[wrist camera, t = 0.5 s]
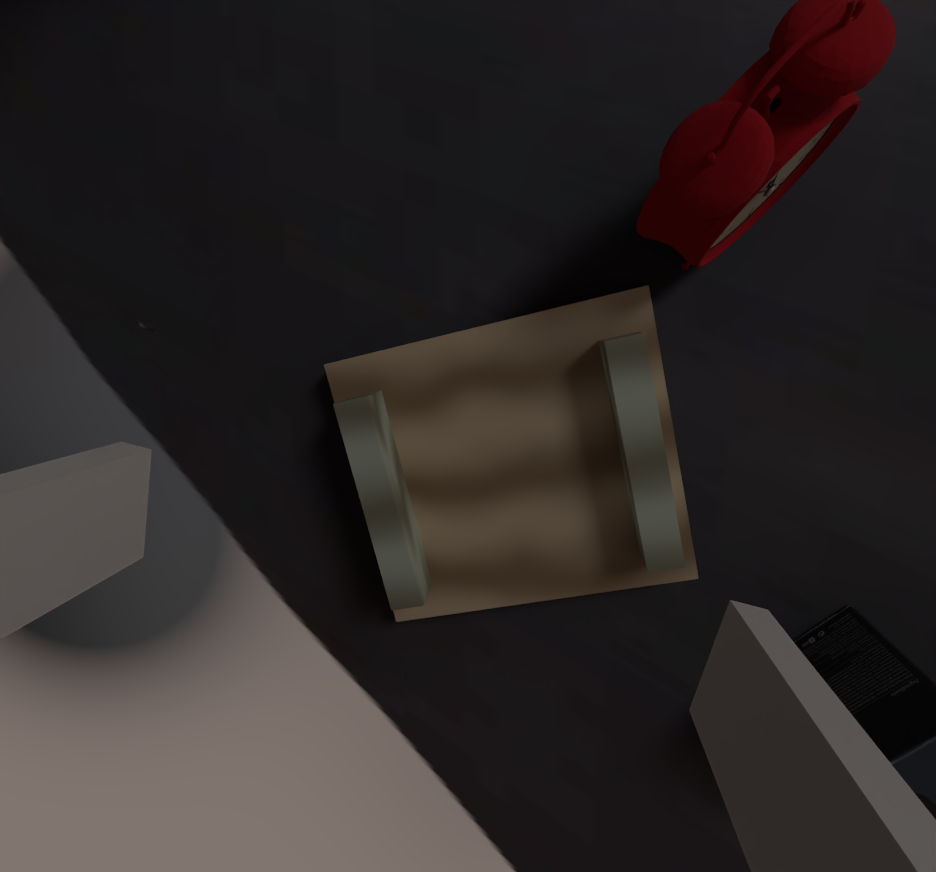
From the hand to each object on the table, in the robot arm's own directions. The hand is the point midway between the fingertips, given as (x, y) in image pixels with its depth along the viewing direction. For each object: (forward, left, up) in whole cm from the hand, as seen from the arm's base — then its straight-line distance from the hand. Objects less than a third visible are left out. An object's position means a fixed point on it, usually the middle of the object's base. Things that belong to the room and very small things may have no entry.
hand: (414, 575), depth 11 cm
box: (+23, +20, -25) cm, 40 cm away
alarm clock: (-10, +15, -25) cm, 31 cm away
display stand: (+4, 0, -25) cm, 25 cm away
